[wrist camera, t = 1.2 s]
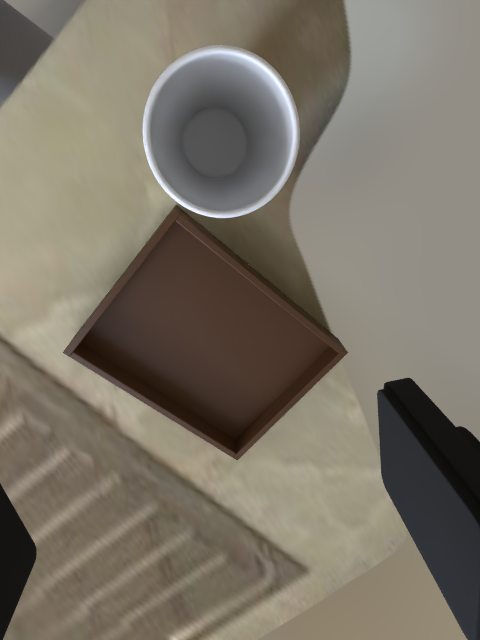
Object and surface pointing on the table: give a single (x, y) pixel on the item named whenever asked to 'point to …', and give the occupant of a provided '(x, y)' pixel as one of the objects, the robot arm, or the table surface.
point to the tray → (205, 338)
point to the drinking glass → (221, 131)
